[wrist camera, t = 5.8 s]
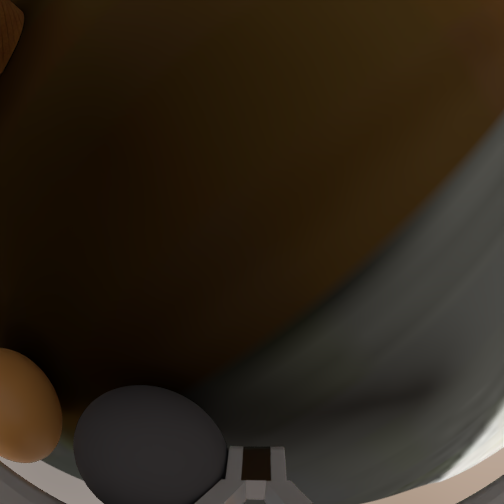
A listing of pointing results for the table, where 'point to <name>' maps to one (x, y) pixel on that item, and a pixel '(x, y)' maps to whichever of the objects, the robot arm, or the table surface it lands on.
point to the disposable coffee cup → (9, 30)
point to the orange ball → (27, 410)
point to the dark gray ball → (148, 447)
